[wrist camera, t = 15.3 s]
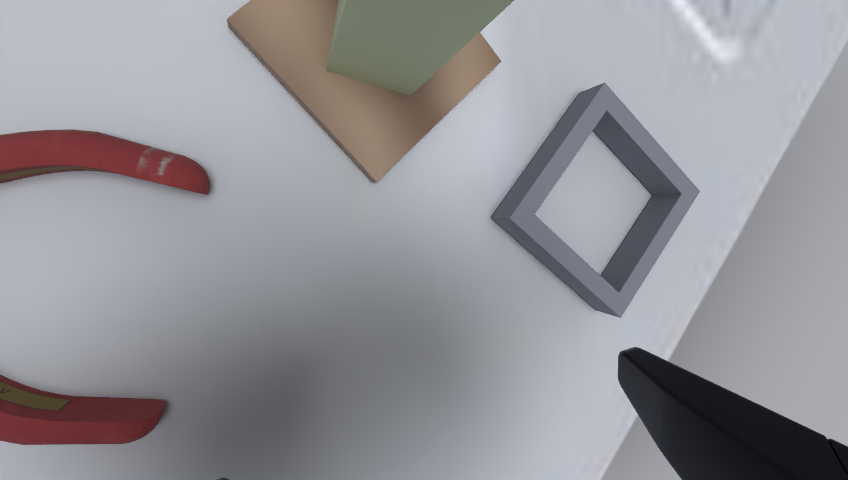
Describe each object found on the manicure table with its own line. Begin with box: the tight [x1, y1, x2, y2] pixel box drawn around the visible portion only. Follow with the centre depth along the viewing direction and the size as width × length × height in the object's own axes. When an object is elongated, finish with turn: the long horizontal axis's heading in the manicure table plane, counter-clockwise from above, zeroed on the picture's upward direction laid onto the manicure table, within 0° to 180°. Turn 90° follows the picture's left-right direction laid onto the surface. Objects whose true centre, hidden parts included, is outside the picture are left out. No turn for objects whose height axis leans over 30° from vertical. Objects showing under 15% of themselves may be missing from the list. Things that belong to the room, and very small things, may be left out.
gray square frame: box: [491, 83, 700, 318], centre depth 24 cm, size 9×9×2 cm
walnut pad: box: [227, 0, 501, 183], centre depth 20 cm, size 9×9×1 cm
